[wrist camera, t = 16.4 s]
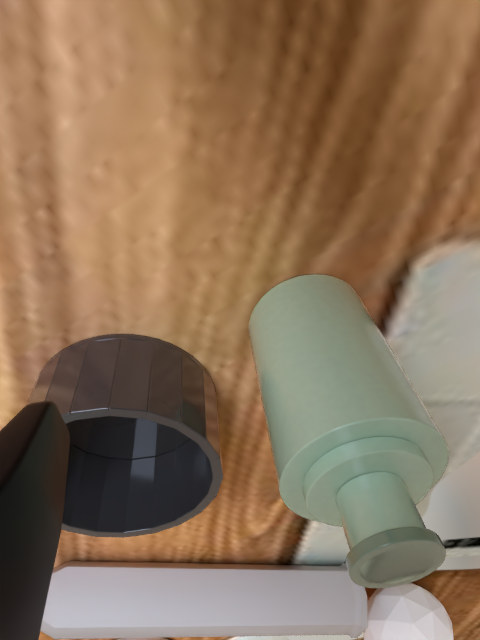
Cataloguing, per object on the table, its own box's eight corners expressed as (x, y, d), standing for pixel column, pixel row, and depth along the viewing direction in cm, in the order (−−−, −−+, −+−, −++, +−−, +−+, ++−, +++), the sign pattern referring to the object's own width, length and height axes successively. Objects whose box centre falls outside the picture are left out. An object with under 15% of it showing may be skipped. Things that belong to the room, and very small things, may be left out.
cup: (5, 346, 21) (-36, 425, 17) (205, 322, 22) (210, 395, 18) (66, 467, 27) (46, 548, 23) (223, 447, 28) (230, 523, 24)
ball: (390, 563, 46) (414, 652, 44) (335, 590, 41) (358, 689, 39) (456, 571, 40) (487, 675, 38) (398, 604, 35) (430, 722, 33)
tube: (31, 643, 32) (343, 638, 38) (21, 644, 28) (374, 637, 33) (49, 561, 36) (335, 567, 41) (42, 551, 31) (361, 558, 37)
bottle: (244, 281, 21) (298, 526, 11) (369, 266, 21) (528, 494, 11) (251, 374, 24) (296, 621, 15) (358, 361, 24) (471, 595, 15)
